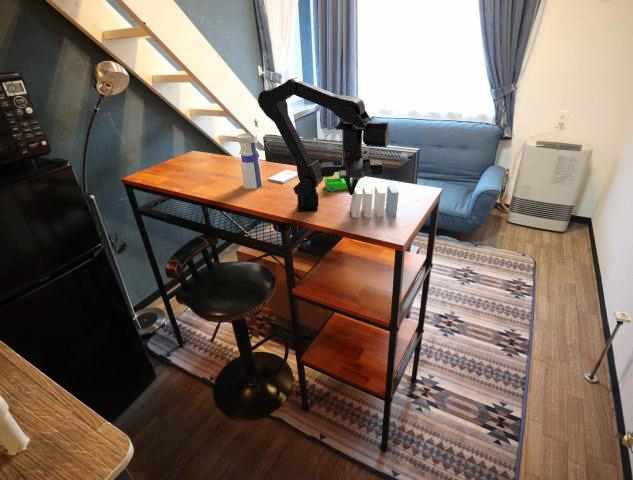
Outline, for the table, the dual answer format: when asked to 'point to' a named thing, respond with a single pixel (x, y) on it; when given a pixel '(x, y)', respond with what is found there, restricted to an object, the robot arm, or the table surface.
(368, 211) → the tile
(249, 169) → the water bottle
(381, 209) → the tile
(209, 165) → the table surface
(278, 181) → the external hard drive
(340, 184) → the toy car
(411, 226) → the table surface
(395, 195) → the tile
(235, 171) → the table surface
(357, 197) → the tile
